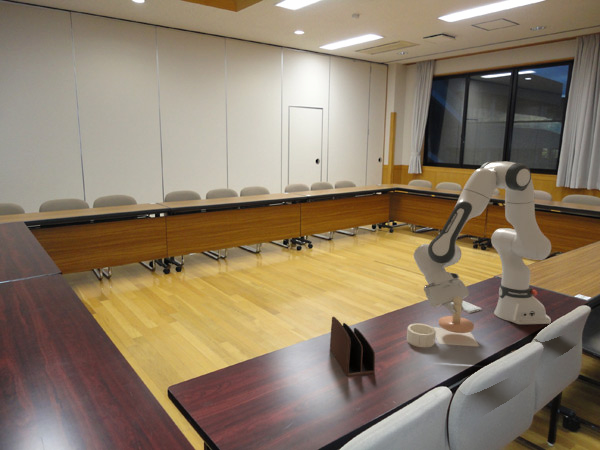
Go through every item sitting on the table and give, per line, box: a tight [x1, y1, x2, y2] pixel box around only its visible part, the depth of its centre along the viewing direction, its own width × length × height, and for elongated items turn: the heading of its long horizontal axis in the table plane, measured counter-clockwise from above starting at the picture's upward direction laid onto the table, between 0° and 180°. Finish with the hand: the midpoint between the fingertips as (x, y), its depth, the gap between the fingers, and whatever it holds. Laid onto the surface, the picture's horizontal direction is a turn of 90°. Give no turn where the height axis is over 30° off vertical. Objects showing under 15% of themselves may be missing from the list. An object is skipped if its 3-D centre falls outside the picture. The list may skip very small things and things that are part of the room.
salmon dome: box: [438, 296, 475, 333], centre depth 165 cm, size 13×13×12 cm
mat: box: [432, 326, 480, 347], centre depth 167 cm, size 15×15×1 cm
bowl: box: [406, 323, 436, 348], centre depth 162 cm, size 10×10×6 cm
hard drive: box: [450, 300, 483, 314], centre depth 199 cm, size 2×8×12 cm
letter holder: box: [329, 316, 376, 377], centre depth 148 cm, size 10×20×14 cm, turn 12°
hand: (458, 311), depth 165 cm, fingers closed on salmon dome, 3 cm apart
